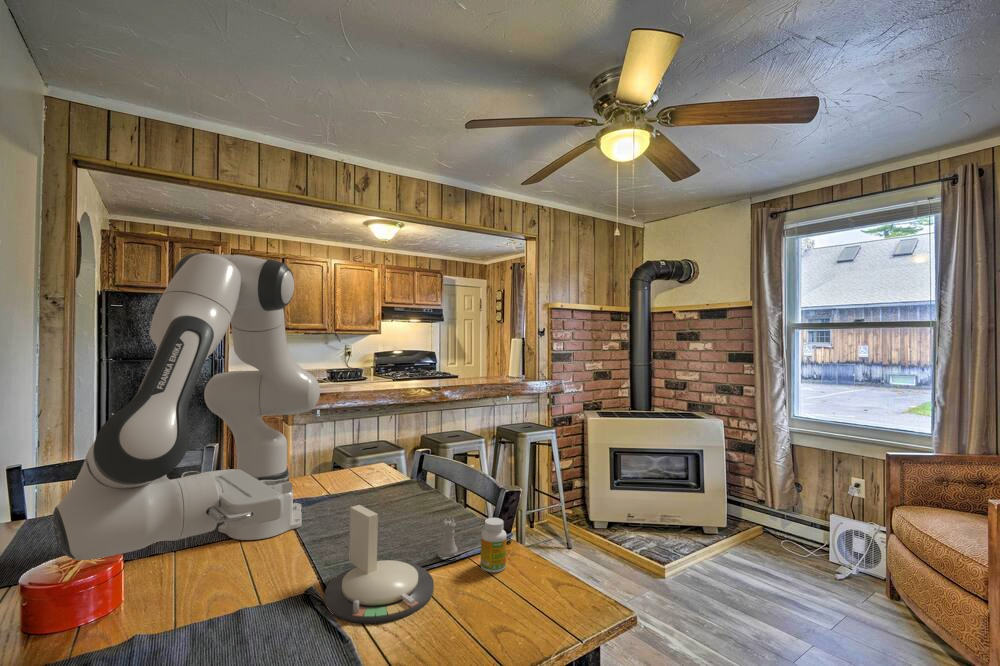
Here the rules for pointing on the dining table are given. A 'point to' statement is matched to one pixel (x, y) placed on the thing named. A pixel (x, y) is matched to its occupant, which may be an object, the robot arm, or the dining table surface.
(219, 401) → the robot arm
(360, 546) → the peg dial
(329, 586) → the base
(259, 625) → the dining table surface
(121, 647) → the dining table surface
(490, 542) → the supplement bottle
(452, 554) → the rook chess piece
